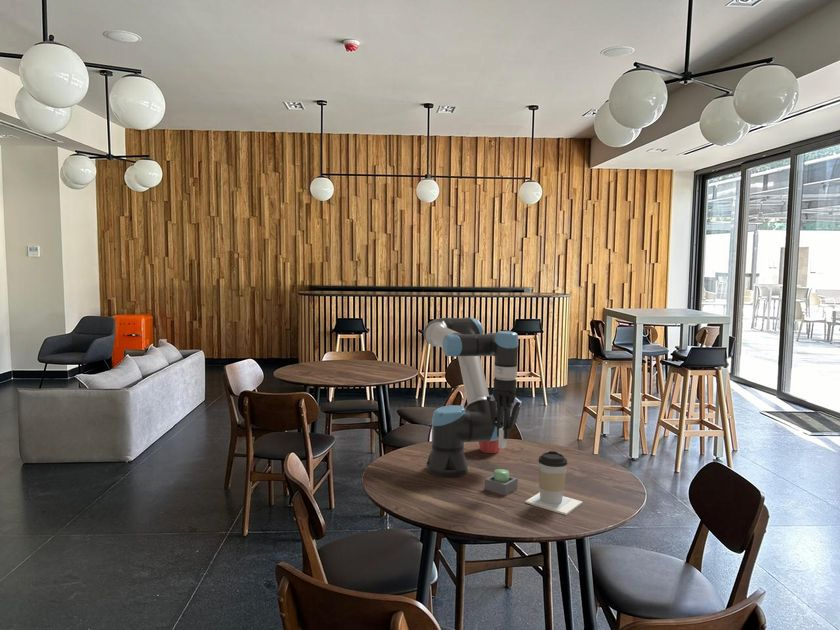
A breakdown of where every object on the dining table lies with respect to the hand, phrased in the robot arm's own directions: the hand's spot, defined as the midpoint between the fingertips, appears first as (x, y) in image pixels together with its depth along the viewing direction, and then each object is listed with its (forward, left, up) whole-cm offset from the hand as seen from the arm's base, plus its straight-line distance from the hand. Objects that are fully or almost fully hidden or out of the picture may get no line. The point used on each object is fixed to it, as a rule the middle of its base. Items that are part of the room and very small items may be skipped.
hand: (502, 447), depth 201 cm
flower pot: (-25, +33, -15) cm, 44 cm away
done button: (0, 0, -12) cm, 12 cm away
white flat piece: (+19, +1, -14) cm, 24 cm away
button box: (0, 0, -14) cm, 14 cm away
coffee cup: (+18, +1, -14) cm, 23 cm away
